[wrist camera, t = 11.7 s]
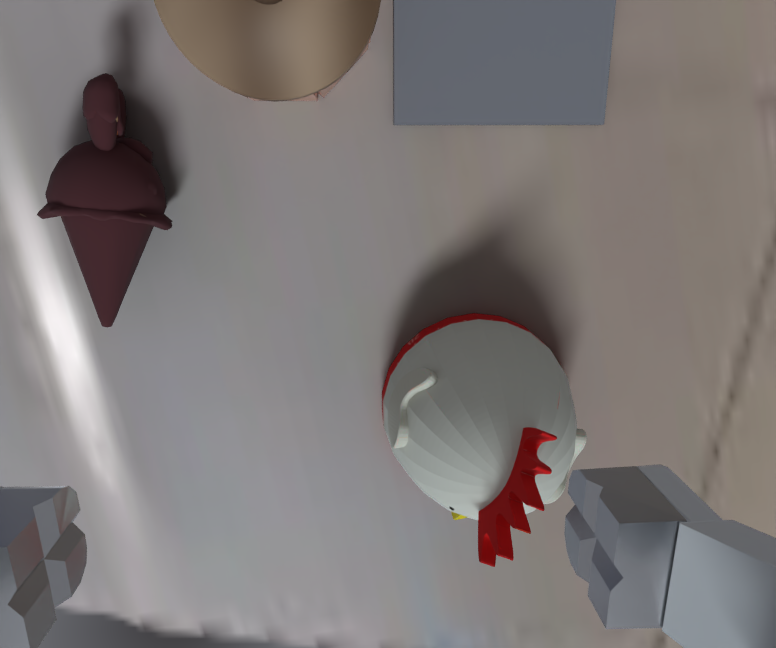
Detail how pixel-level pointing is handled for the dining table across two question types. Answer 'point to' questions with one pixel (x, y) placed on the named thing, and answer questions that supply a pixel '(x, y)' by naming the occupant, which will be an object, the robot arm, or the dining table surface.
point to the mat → (501, 61)
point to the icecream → (107, 198)
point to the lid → (271, 42)
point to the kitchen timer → (482, 423)
